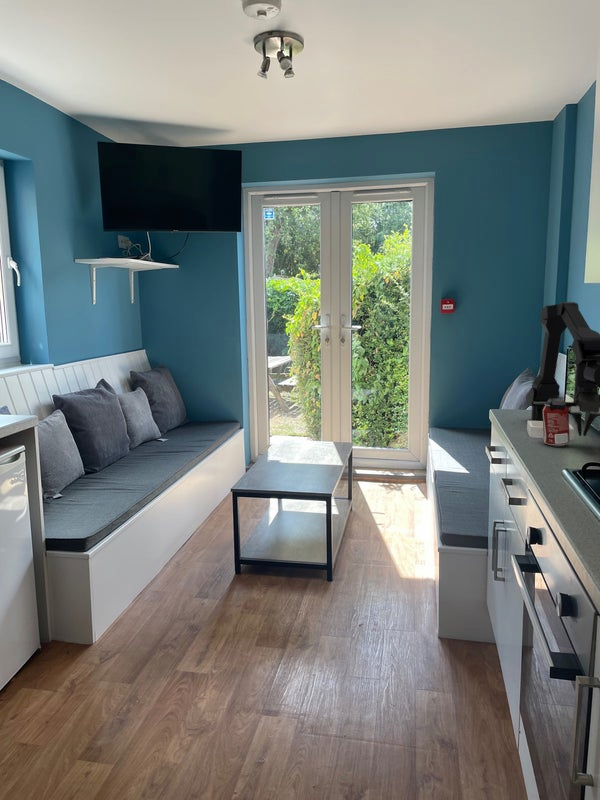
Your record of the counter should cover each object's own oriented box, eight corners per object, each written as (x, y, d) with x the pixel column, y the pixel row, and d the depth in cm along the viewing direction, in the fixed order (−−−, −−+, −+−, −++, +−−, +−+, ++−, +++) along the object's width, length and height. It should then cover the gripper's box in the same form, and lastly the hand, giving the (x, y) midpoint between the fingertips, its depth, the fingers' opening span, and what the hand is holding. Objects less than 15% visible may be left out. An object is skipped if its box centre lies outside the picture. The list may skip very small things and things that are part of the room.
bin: (526, 431, 182) (527, 420, 182) (568, 433, 179) (568, 422, 178) (529, 438, 174) (530, 426, 173) (573, 440, 171) (574, 429, 170)
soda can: (572, 446, 161) (571, 404, 159) (546, 448, 163) (545, 406, 161) (566, 440, 168) (565, 400, 166) (541, 441, 169) (540, 401, 167)
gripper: (554, 384, 155) (550, 440, 158) (631, 386, 150) (626, 444, 153) (548, 378, 166) (544, 431, 168) (620, 380, 161) (615, 435, 164)
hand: (582, 435), depth 163 cm, fingers closed, pressing on soda can
